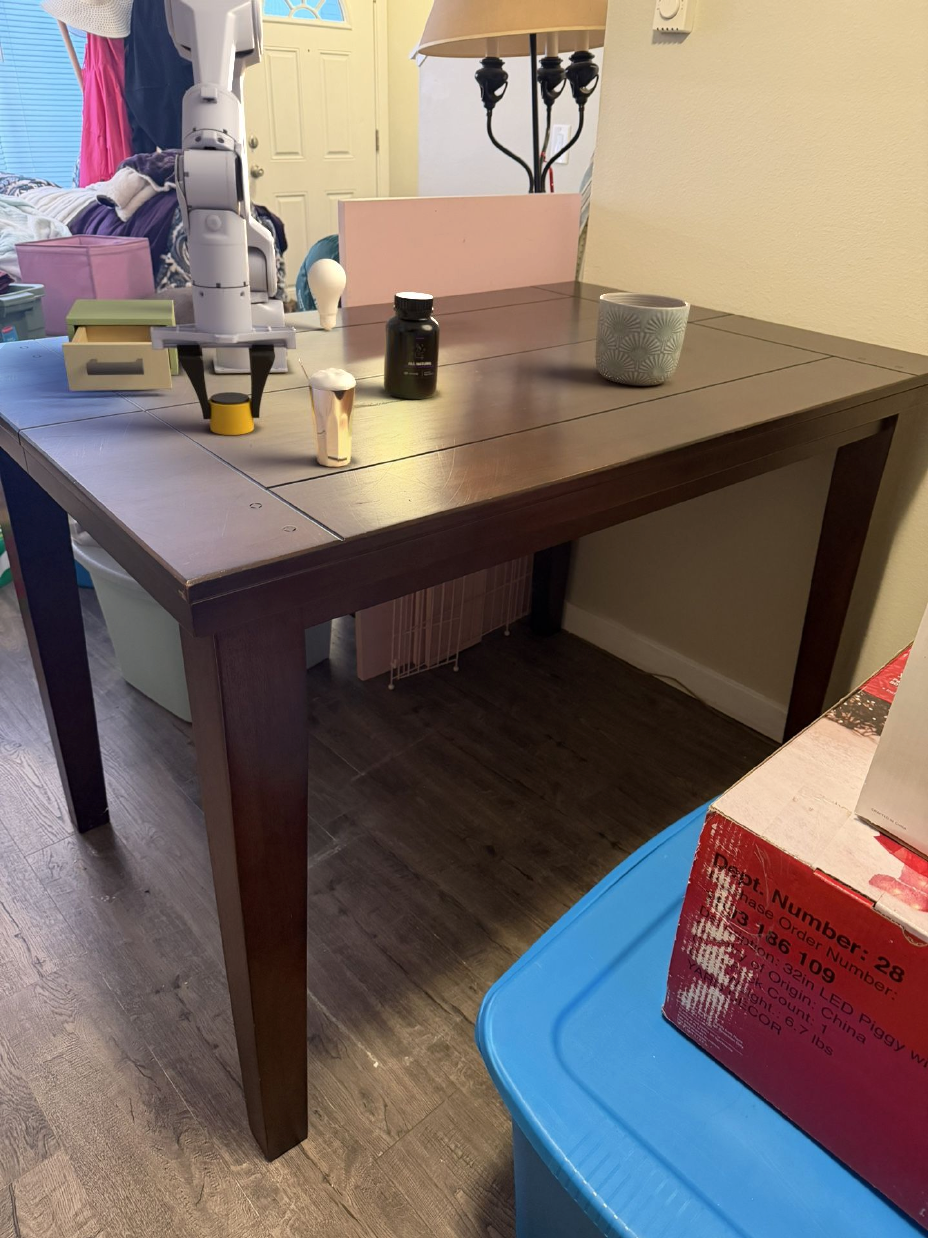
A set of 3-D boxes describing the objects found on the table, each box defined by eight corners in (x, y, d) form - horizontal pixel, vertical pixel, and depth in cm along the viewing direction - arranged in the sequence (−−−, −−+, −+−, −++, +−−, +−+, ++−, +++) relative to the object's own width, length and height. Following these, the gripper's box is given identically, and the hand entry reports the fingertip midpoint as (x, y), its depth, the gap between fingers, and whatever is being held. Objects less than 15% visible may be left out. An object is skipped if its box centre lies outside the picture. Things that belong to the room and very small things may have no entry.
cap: (252, 421, 98) (250, 390, 96) (255, 434, 94) (253, 402, 92) (210, 423, 97) (207, 391, 95) (211, 435, 93) (208, 403, 91)
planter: (573, 376, 125) (582, 296, 119) (621, 365, 133) (631, 289, 128) (646, 395, 118) (660, 311, 112) (692, 382, 126) (707, 302, 121)
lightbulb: (339, 335, 141) (338, 262, 136) (304, 331, 142) (301, 259, 137) (351, 328, 146) (350, 258, 141) (316, 324, 147) (314, 254, 142)
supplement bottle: (417, 403, 108) (420, 302, 102) (373, 393, 111) (373, 294, 105) (447, 392, 113) (451, 295, 107) (404, 383, 116) (406, 288, 110)
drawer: (171, 398, 101) (166, 351, 99) (65, 400, 98) (57, 352, 96) (172, 364, 115) (168, 322, 112) (79, 365, 112) (73, 322, 109)
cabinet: (178, 374, 114) (172, 318, 111) (74, 376, 111) (65, 318, 107) (178, 351, 125) (172, 299, 122) (84, 352, 122) (76, 298, 119)
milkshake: (304, 453, 89) (300, 354, 85) (356, 454, 90) (356, 356, 85) (301, 468, 85) (297, 365, 81) (355, 469, 86) (355, 367, 81)
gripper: (143, 289, 83) (160, 428, 89) (297, 291, 87) (302, 424, 93) (145, 277, 89) (161, 409, 95) (289, 280, 92) (295, 406, 99)
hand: (230, 416), depth 95 cm, fingers closed on cap, 4 cm apart
